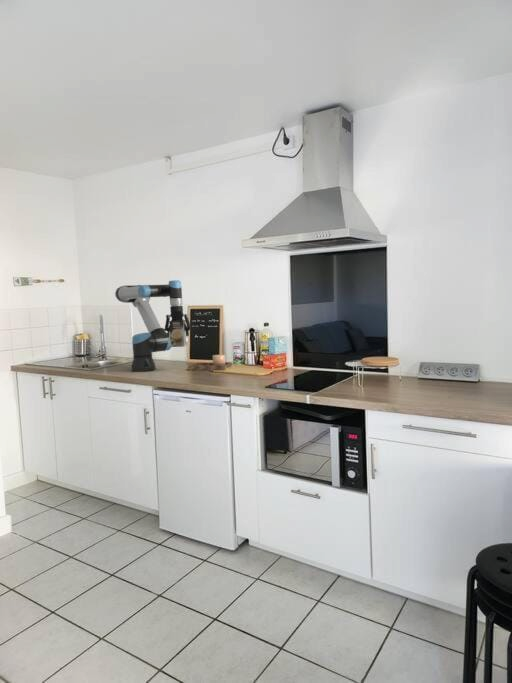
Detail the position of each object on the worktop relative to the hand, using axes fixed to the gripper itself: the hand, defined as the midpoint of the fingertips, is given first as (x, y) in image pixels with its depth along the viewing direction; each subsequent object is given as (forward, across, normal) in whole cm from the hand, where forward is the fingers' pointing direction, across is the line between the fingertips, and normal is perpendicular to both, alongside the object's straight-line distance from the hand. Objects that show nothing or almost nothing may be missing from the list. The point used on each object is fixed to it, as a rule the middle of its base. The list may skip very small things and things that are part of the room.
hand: (178, 341), depth 301 cm
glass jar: (+3, 0, 0) cm, 3 cm away
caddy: (+18, +20, +1) cm, 27 cm away
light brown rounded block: (+17, +25, +2) cm, 31 cm away
